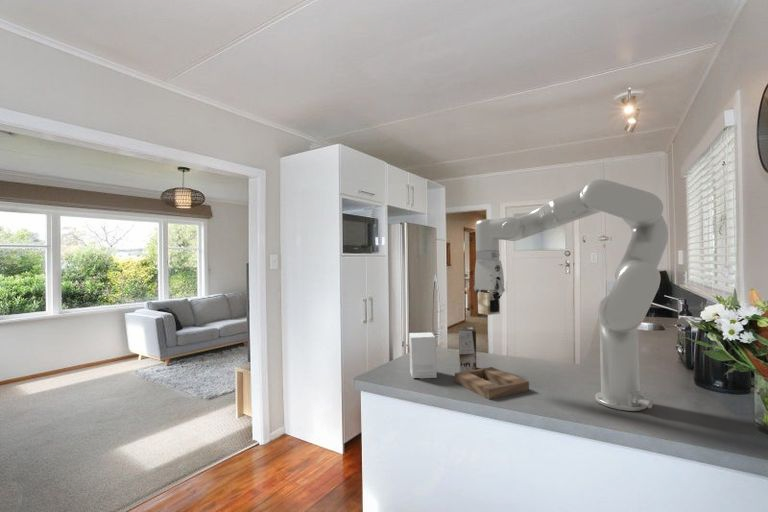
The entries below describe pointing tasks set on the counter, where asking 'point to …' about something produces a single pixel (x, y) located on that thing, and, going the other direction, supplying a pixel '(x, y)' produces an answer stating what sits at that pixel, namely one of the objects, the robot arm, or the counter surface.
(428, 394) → the counter surface
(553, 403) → the counter surface
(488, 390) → the pocket block
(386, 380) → the counter surface
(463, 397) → the counter surface
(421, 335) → the supplement box
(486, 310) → the maple block
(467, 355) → the coffee box
